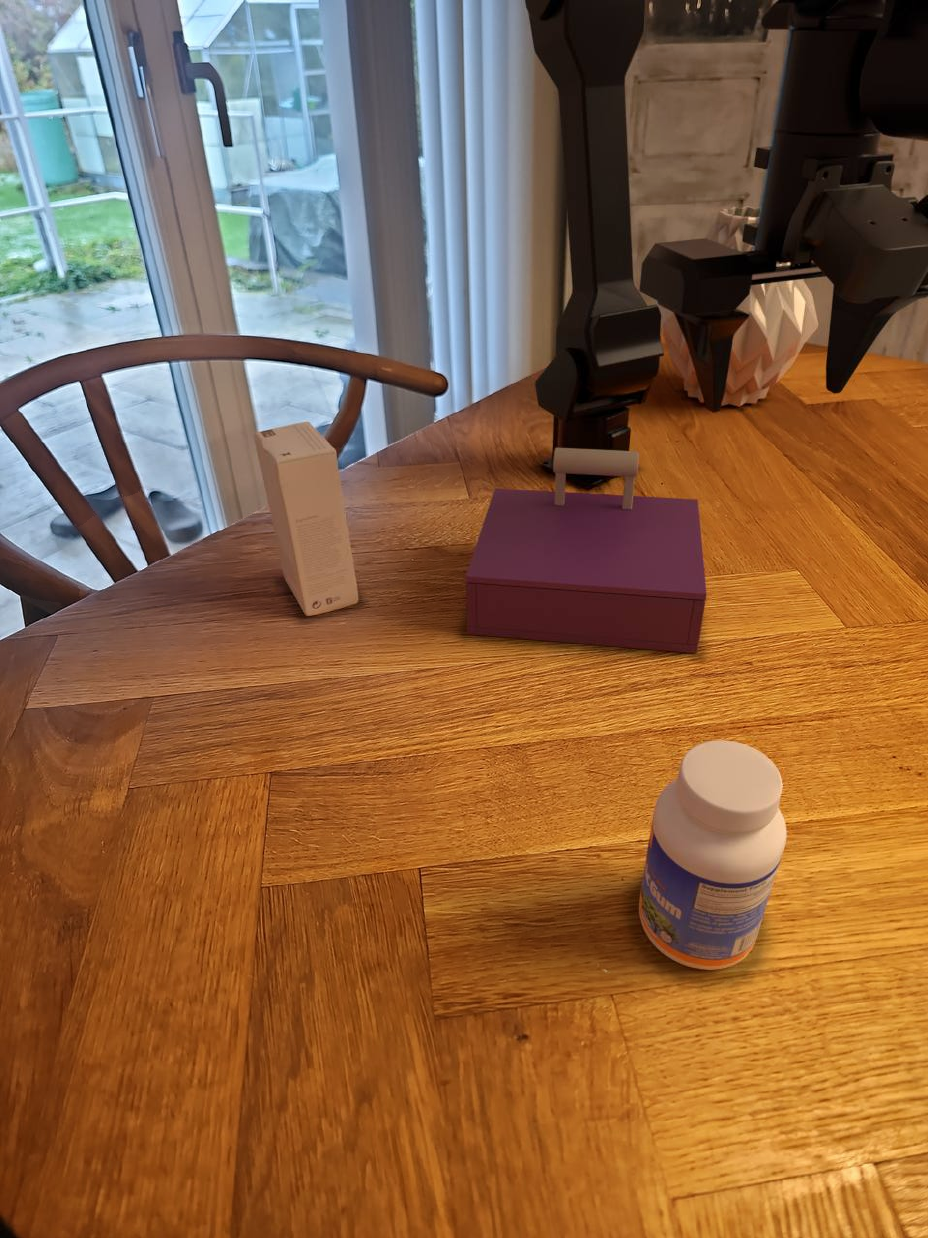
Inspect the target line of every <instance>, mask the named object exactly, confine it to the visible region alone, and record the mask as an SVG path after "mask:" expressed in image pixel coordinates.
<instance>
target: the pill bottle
mask: <svg viewBox="0 0 928 1238" xmlns="http://www.w3.org/2000/svg"><path fill="white" fill-rule="evenodd" d="M783 785H784V784H783V778H782V775H781V773H780V771H779V769H778V767H777V766H776V764H775V763H774V762H773V761H772V760H771V759H770V758H769V757H768V756H767V755H765V754H764V753H763V752H761V751H760V750H758V749H756V748H754V747H752V746H750V745H747V744H744V743H741V742H737V741H734V740H733V741H732V740H723V739H722V740H720V739H718V740H709V741H704V742H702V743H699V744H696V745H694V746H693V747H692V748H690V749H689V750H688V751H687V752H686V753H685V754H684V756H683V758H682V759H681V762H680V765H679V769H678V774H677V777H676V778H675V779H673V780H672V781H670V782H669V783H668V784H667V785H666V786H665V787H663V789H662V791H661V792H660V794H659V795H658V797H657V798H656V802H655V805H654V809H653V815H652V819H651V826H650V830H649V831H650V832H649V838H648V844H647V851H646V857H645V862H644V869H643V875H642V880H641V885H640V886H641V887H640V892H639V901H638V914H639V920H640V923H641V926H642V929H643V931H644V933H645V935H646V937H647V938H648V939H649V941H650V942H651V943H652V945H653V946H654V947H655V948H656V949H657V950H659V951H660V952H661V953H662V954H663V955H664V956H666V957H667V958H669V959H671V960H672V961H674V962H676V963H678V964H681V965H683V966H685V967H689V968H694V969H698V970H708V971H710V970H711V971H712V970H713V971H714V970H721V969H727V968H729V967H730V968H731V967H732V966H734V965H736V964H738V963H740V962H741V961H742V960H744V959H745V958H747V956H748V955H749V953H750V952H751V951H752V949H753V947H754V946H755V943H756V941H757V938H758V935H759V932H760V928H761V926H762V925H761V924H762V921H763V919H764V915H765V911H766V909H767V904H768V901H769V898H770V895H771V892H772V889H773V886H774V883H775V880H776V877H777V873H778V871H779V868H780V864H781V861H782V857H783V855H784V850H785V848H786V844H787V836H788V835H787V833H788V832H787V825H786V822H785V821H786V820H785V817H784V815H783V813H782V811H781V809H780V802H781V798H782V793H783V789H784V788H783Z"/></svg>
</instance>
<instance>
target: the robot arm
mask: <svg viewBox="0 0 928 1238" xmlns="http://www.w3.org/2000/svg"><path fill="white" fill-rule="evenodd" d="M524 3H525V8H526V10H527V13H528V20H529V27H530V31H531V39H532V45H533V50H534V53H535V55H536V57H537V58H538V60H539V61H540V64H541V65H542V66H543V68H544V70H545V71H546V73H547V74H548V76H549V77H550V78H551V81H552V82H553V84H554V86H555V87H556V90H557V94H558V104H559V116H560V117H559V119H560V130H561V132H560V133H561V144H562V159H563V160H562V161H563V172H564V174H563V175H564V187H565V188H564V189H565V201H566V215H567V217H566V218H567V229H568V244H569V259H570V271H571V294H570V296H569V299H568V301H567V303H566V305H565V307H564V310H563V312H562V315H561V316H560V319H559V321H558V323H557V326H556V329H555V335H556V336H555V338H556V339H555V357H554V358H552V360H551V361H550V363H548V365H547V366H546V368H545V369H544V370H543V371H542V373H541V374H540V375H539V376H538V377H537V378H536V380H535V381H534V382H535V384H534V386H535V392H536V399H537V405H538V407H540V408H541V409H543V410H544V411H546V412H548V413H549V414H551V415H552V417H553V418H552V419H553V423H552V449H551V450H552V451H551V455H552V456H551V457H550V458H547V459H545V460H542V461H541V462H540V465H539V468H540V469H542V470H544V471H547V472H549V473H551V474H553V475H556V473H554V471H553V461H554V451H555V448H575V449H596V450H617V451H630V445H631V434H632V428H631V426H629V418H630V408H629V407H632V406H637V405H638V406H641V405H645V404H646V401H647V399H648V397H649V394H650V391H651V389H652V386H653V383H654V380H655V379H656V378H657V377H658V375H659V370H660V362H661V357H664V355H665V352H664V348H663V344H662V337H661V312H660V310H659V308H660V306H663V307H664V308H666V309H668V310H670V311H672V312H673V313H674V315H675V317H676V320H677V322H678V324H679V327H680V329H681V331H682V334H683V336H684V338H685V341H686V343H687V346H688V349H689V353H690V355H691V359H692V362H693V366H694V369H695V372H696V376H697V379H698V383H699V386H700V389H701V393H702V396H703V399H704V403H703V404H704V406H705V408H706V409H707V410H708V411H710V412H711V413H713V414H716V413H719V412H720V411H721V408H722V406H721V404H722V401H723V397H724V394H725V389H726V382H727V376H728V369H729V363H730V356H731V350H732V343H733V337H734V335H735V333H736V332H737V331H738V329H739V328H740V327H741V326H742V325H743V323H744V322H745V321H746V320H747V319H748V317H749V314H747V313H745V312H743V311H741V310H739V309H737V307H738V306H739V305H740V304H741V303H742V302H743V301H744V300H745V298H746V297H747V296H748V295H749V294H750V288H751V285H758V284H766V283H775V282H783V281H791V280H800V279H803V280H806V279H815V278H816V279H817V278H825V277H826V278H827V279H828V280H829V281H830V282H831V284H833V287H832V298H831V311H830V321H829V330H828V341H827V351H826V359H825V361H826V362H825V388H826V390H827V391H829V392H830V393H832V394H841V392H842V391H843V390H844V388H845V387H846V385H847V384H848V383H849V380H850V379H851V377H852V376H853V374H854V373H855V372H856V369H857V368H858V366H859V365H860V363H861V362H862V360H863V359H864V357H865V356H866V354H867V352H868V351H869V349H870V348H871V346H872V345H873V343H874V342H875V340H876V339H877V337H878V336H879V335H880V333H881V332H882V331H883V329H884V328H885V326H886V325H887V324H888V322H889V321H890V320H891V318H892V317H893V316H894V315H895V314H896V313H898V312H900V311H901V310H903V309H904V308H906V307H908V306H910V305H911V304H913V303H914V302H916V301H919V300H921V299H927V298H928V193H927V194H926V195H925V196H924V197H922V198H921V199H920V200H919V199H918V198H917V197H916V196H909V197H900V196H898V195H897V194H895V193H894V192H893V191H892V190H893V189H892V182H893V176H894V173H895V167H896V166H895V163H894V161H893V160H894V157H895V153H892V152H887V151H882V150H881V151H880V150H879V149H880V145H881V140H882V136H886V137H890V138H895V139H897V138H898V139H903V140H905V139H906V140H912V141H913V140H914V141H921V142H922V141H923V142H928V0H776V1H775V2H774V3H773V4H772V5H771V6H770V7H769V9H768V10H767V11H766V12H764V14H763V15H762V17H761V21H760V23H761V24H760V25H761V27H762V29H763V30H765V31H768V30H769V31H788V30H789V31H788V35H787V42H786V48H785V56H784V61H783V67H782V73H781V78H780V79H781V80H780V86H779V91H778V97H777V104H776V109H775V110H776V111H775V115H774V121H773V128H772V134H771V141H770V146H769V145H768V146H757V147H756V149H755V154H754V155H755V156H754V162H753V168H757V169H762V170H765V171H766V172H765V178H764V183H763V189H762V195H761V202H760V206H759V207H760V213H759V219H758V223H750V224H745V225H744V232H743V238H742V242H744V243H747V244H750V245H753V246H754V251H746V252H741V251H738V250H735V249H733V248H730V247H727V246H725V245H722V244H719V243H717V242H714V241H711V240H709V239H706V238H704V237H702V238H694V239H693V238H692V239H684V240H675V241H674V240H673V241H664V242H655V243H654V244H653V245H652V247H651V249H650V250H649V251H648V253H647V254H646V256H645V257H644V259H643V261H642V263H641V270H640V280H639V289H637V287H636V285H635V278H634V260H633V258H634V257H633V237H632V235H633V234H632V211H631V192H630V191H631V190H630V169H629V168H630V166H629V147H628V146H629V145H628V143H629V142H628V121H627V101H626V77H627V74H628V71H629V69H630V67H631V65H632V62H633V60H634V58H635V55H636V53H637V51H638V48H639V46H640V44H641V41H642V39H643V37H644V33H645V28H646V27H645V25H646V8H647V7H646V6H647V0H524ZM787 262H790V265H787V266H778V267H777V266H776V264H777V263H778V264H781V263H787ZM641 293H642V294H644V295H646V296H648V297H649V298H652V299H654V300H656V302H657V304H651V305H648V304H647V303H646V301H645V299H644V298H643V296H642V295H641ZM617 477H618V476H608V475H588V474H569V473H566V479H565V480H567V481H570V482H573V483H575V484H577V485H579V486H582V487H584V488H586V489H594V488H596V487H598V486H601V485H602V484H605V483H608V482H609V481H611V480H613V479H615V478H617Z"/></svg>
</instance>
